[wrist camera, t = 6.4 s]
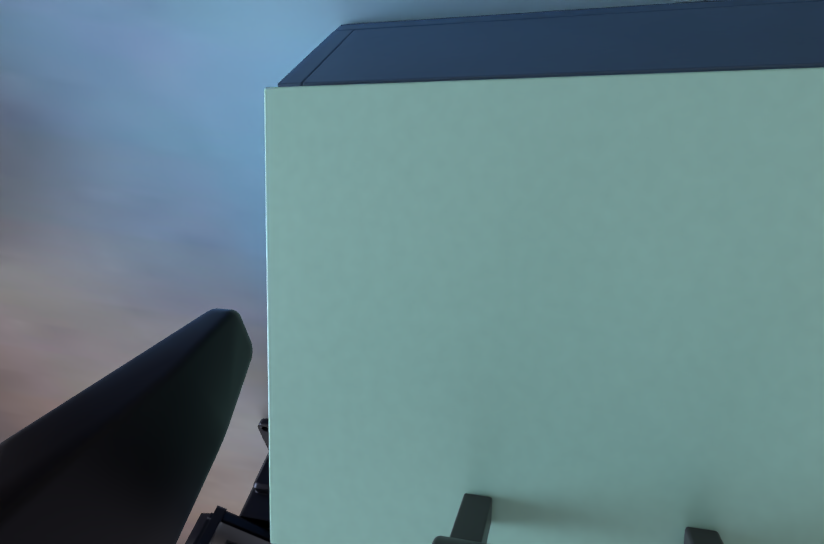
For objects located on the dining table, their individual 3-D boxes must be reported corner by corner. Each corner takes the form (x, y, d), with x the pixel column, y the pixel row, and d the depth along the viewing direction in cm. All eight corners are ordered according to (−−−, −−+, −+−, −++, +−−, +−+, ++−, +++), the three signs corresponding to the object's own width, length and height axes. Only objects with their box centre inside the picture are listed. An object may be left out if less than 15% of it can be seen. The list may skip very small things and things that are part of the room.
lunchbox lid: (974, 654, 12) (1218, 918, 8) (281, 530, 16) (174, 654, 12) (1066, 66, 11) (1436, -37, 6) (276, 92, 15) (151, 42, 10)
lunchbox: (802, 312, 22) (850, 425, 18) (390, 288, 26) (355, 375, 22) (938, -15, 14) (1068, 54, 11) (340, 24, 19) (276, 83, 15)
